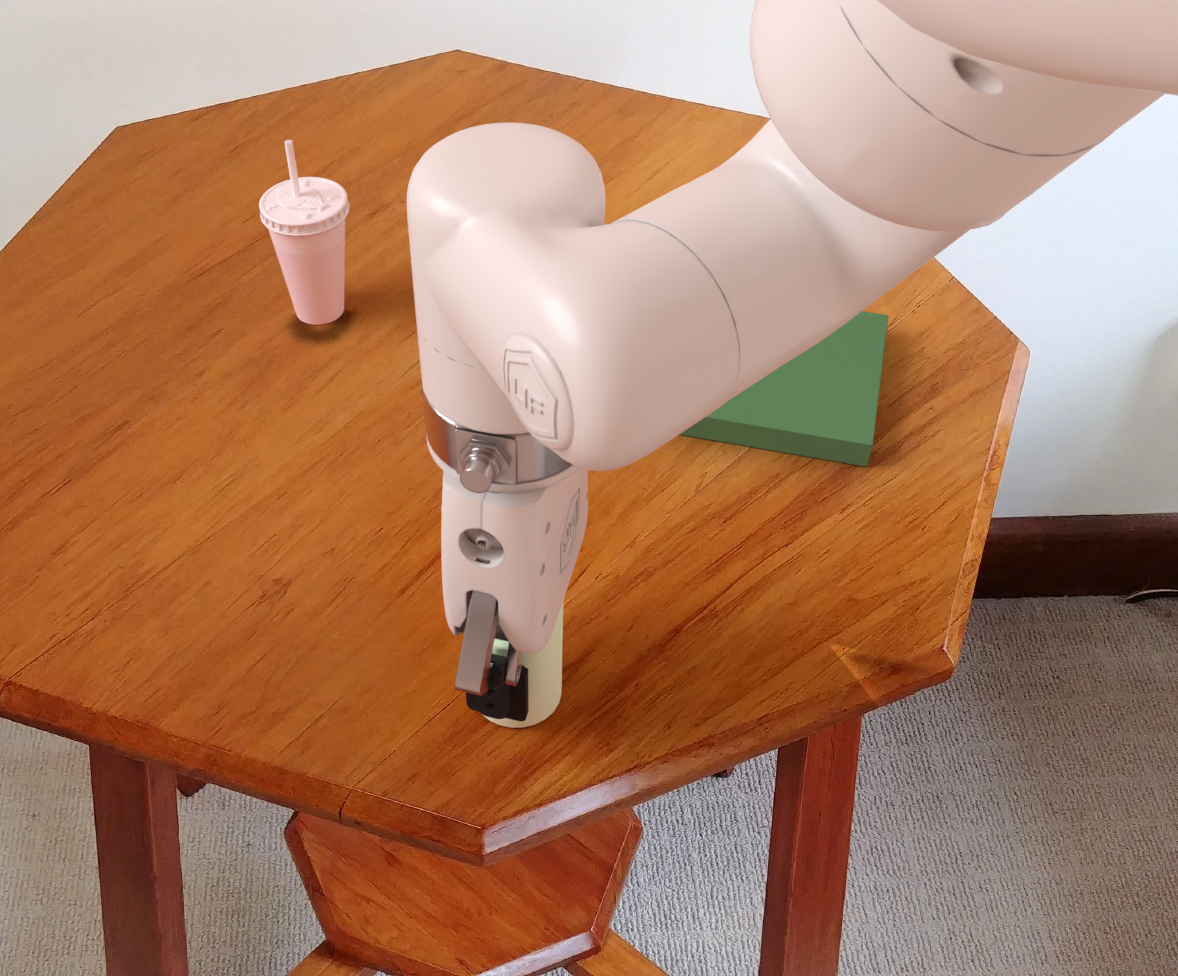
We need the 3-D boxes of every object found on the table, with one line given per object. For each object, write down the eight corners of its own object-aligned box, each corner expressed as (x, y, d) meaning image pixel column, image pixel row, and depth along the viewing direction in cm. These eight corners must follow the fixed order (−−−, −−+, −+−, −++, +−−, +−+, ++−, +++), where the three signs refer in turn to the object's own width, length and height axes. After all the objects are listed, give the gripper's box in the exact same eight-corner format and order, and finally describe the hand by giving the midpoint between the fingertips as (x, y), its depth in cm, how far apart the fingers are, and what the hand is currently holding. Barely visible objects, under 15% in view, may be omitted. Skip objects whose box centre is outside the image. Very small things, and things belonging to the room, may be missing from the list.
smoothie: (315, 275, 98) (290, 112, 88) (379, 302, 95) (360, 136, 85) (260, 317, 94) (228, 152, 84) (325, 346, 91) (298, 178, 81)
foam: (883, 336, 89) (888, 314, 88) (867, 467, 80) (873, 444, 78) (610, 296, 94) (611, 274, 93) (565, 415, 85) (565, 393, 83)
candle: (492, 742, 66) (487, 647, 61) (457, 672, 70) (450, 577, 64) (576, 710, 68) (580, 615, 62) (538, 644, 71) (538, 547, 65)
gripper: (542, 570, 47) (541, 815, 60) (636, 306, 59) (618, 558, 72) (359, 532, 49) (396, 778, 62) (484, 283, 61) (494, 533, 73)
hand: (515, 658), depth 67 cm, fingers open, 6 cm apart
